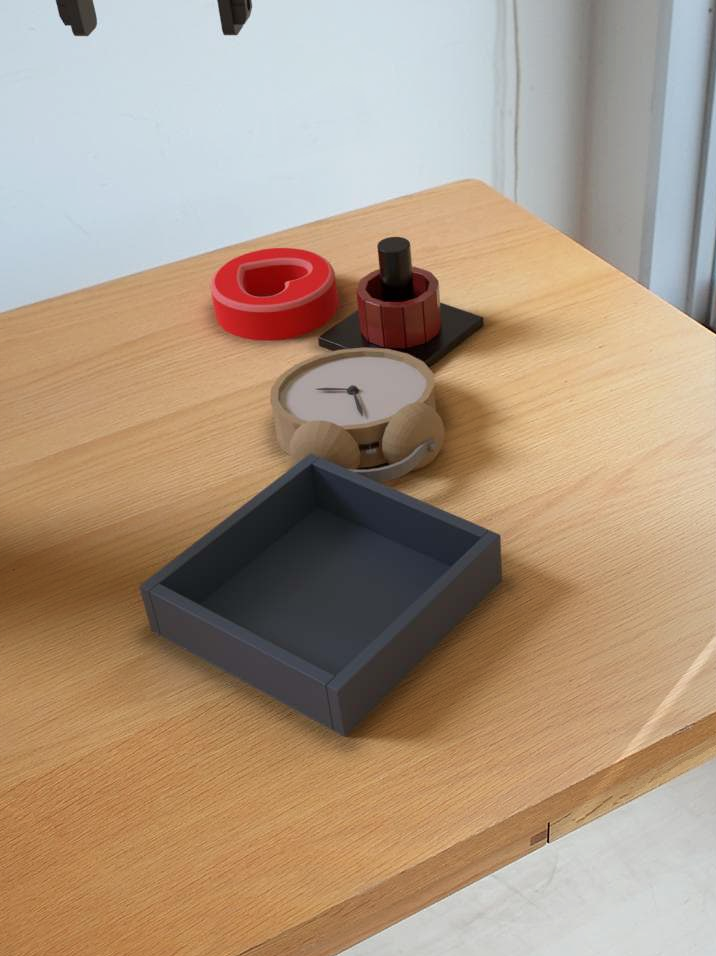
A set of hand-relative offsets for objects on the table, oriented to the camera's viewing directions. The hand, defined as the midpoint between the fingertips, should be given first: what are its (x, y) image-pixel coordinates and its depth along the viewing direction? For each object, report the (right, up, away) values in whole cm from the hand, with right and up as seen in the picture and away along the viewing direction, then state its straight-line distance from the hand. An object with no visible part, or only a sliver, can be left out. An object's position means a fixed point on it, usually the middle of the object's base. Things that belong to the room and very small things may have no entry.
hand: (159, 31), depth 74 cm
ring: (+12, -13, +26) cm, 32 cm away
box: (+9, -33, +4) cm, 34 cm away
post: (+12, -14, +27) cm, 32 cm away
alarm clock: (+10, -23, +17) cm, 30 cm away
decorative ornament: (+1, -11, +31) cm, 33 cm away
